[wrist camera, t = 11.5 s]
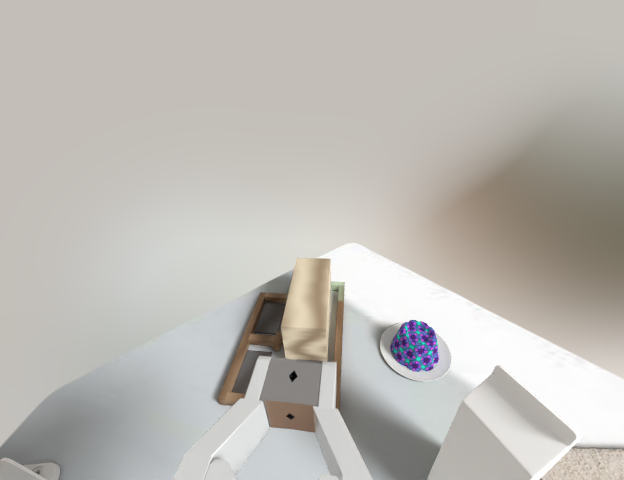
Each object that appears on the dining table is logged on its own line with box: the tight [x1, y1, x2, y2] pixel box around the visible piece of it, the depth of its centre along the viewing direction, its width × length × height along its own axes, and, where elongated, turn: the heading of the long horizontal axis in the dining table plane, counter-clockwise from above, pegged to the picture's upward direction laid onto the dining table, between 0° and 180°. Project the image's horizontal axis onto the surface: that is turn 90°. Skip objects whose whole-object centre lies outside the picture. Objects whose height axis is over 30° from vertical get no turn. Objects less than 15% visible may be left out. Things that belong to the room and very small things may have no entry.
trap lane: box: [218, 280, 345, 410], centre depth 52 cm, size 18×32×2 cm, turn 173°
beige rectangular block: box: [281, 258, 331, 361], centre depth 53 cm, size 7×18×10 cm, turn 175°
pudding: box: [380, 320, 451, 382], centre depth 48 cm, size 12×12×5 cm
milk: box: [427, 366, 582, 480], centre depth 27 cm, size 6×6×22 cm
